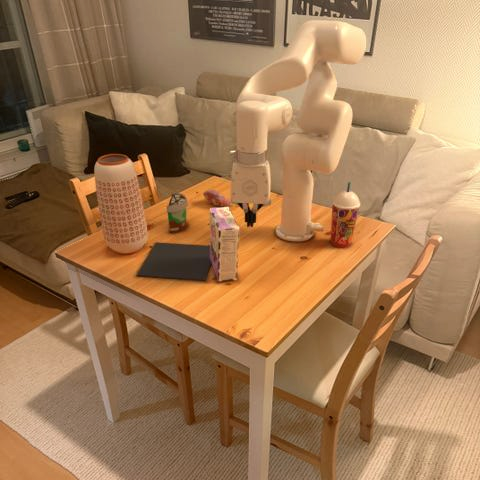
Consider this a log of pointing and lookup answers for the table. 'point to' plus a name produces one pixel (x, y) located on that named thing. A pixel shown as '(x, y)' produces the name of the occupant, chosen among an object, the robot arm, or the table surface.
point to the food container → (177, 212)
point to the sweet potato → (216, 198)
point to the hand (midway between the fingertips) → (250, 224)
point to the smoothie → (344, 217)
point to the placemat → (177, 262)
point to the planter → (120, 204)
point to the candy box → (224, 243)
